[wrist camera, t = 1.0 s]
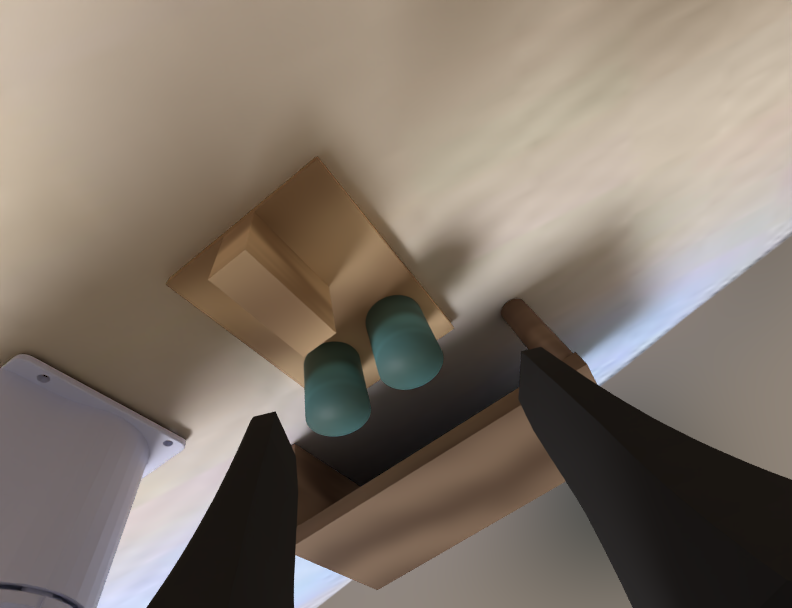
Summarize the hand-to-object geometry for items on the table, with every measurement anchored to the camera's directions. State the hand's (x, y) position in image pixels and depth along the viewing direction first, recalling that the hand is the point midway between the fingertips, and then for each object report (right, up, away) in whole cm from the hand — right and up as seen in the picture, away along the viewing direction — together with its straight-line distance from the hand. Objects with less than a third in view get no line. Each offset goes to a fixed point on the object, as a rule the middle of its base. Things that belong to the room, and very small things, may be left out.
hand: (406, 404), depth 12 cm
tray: (-4, +3, +10) cm, 11 cm away
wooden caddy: (+2, -4, +16) cm, 16 cm away
